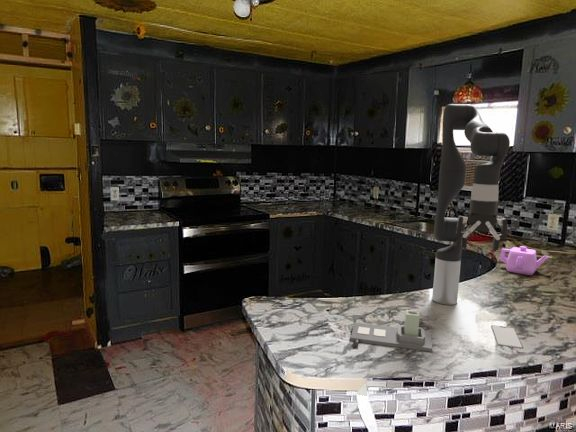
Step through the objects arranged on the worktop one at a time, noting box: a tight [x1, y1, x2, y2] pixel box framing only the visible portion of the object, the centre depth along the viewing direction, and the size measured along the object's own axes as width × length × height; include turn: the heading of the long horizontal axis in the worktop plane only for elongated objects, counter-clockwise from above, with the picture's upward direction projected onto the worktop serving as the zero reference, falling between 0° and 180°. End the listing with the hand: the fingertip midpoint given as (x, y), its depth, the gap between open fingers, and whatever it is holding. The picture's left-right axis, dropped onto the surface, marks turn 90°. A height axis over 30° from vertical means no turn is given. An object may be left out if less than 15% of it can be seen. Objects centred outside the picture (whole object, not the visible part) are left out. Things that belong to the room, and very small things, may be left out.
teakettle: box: [499, 245, 549, 276], centre depth 210 cm, size 17×17×12 cm
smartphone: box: [490, 325, 524, 349], centre depth 135 cm, size 7×1×15 cm
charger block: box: [404, 309, 421, 337], centre depth 130 cm, size 4×4×8 cm
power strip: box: [350, 322, 433, 353], centre depth 130 cm, size 16×24×3 cm, turn 76°
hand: (479, 250), depth 131 cm, fingers open, 8 cm apart
